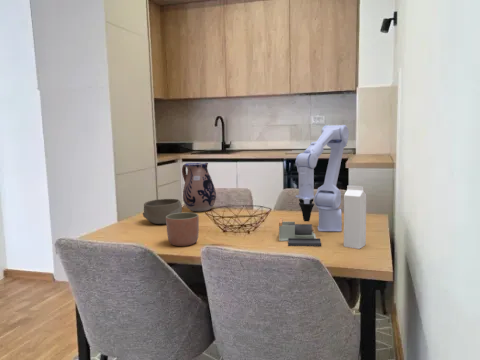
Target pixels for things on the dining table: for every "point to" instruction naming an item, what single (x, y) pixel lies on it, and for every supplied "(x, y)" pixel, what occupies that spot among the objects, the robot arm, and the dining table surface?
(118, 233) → the dining table surface
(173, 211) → the bowl
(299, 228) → the grey roller spool
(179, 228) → the planter
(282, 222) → the long tan wooden plank
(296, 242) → the dark grey roller cradle
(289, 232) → the white roller cradle
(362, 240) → the milk
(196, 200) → the ceramic pitcher
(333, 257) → the dining table surface
